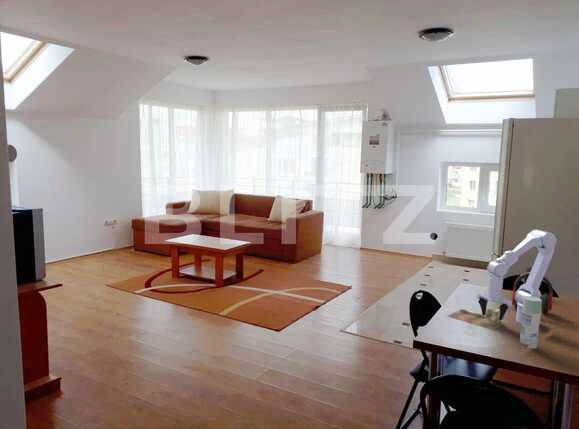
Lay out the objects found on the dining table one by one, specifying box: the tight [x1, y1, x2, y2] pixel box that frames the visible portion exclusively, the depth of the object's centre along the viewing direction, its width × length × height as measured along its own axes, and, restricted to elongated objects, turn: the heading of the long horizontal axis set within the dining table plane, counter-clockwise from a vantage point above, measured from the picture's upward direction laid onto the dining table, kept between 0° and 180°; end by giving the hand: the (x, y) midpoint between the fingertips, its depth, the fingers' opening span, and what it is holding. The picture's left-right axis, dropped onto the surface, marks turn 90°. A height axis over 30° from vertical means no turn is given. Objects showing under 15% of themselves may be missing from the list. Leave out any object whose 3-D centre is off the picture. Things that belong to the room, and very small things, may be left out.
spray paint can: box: [519, 296, 542, 350], centre depth 182 cm, size 6×6×20 cm
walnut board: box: [446, 308, 509, 331], centre depth 209 cm, size 22×16×3 cm
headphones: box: [511, 272, 554, 315], centre depth 224 cm, size 18×10×20 cm, turn 64°
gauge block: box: [485, 307, 500, 326], centre depth 203 cm, size 4×9×6 cm, turn 133°
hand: (492, 317), depth 203 cm, fingers open, 7 cm apart
